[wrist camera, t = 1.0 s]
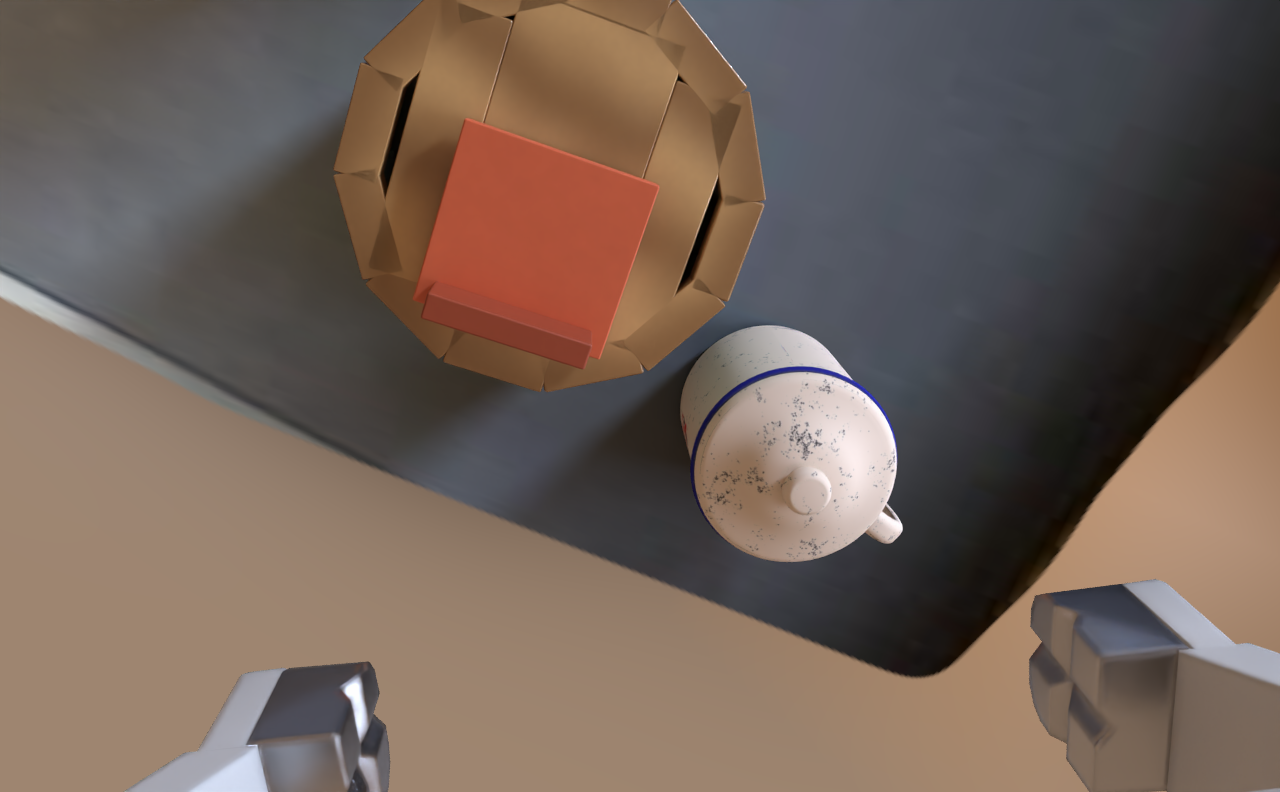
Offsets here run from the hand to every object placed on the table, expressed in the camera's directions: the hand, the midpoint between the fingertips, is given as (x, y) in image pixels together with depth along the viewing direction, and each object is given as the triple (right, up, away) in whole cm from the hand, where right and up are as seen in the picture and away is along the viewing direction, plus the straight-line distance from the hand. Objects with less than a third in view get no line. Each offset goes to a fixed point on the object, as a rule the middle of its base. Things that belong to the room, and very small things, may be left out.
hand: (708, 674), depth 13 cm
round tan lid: (-4, +11, +26) cm, 29 cm away
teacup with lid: (+7, +2, +41) cm, 42 cm away
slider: (-5, +9, +25) cm, 27 cm away
